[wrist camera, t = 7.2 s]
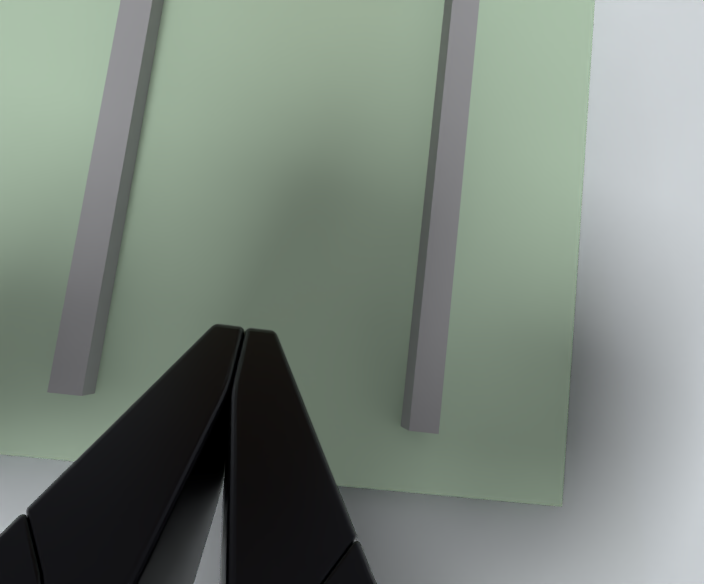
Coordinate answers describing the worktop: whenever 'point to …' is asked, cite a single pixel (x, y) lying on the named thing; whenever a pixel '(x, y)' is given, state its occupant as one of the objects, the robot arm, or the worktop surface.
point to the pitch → (301, 221)
